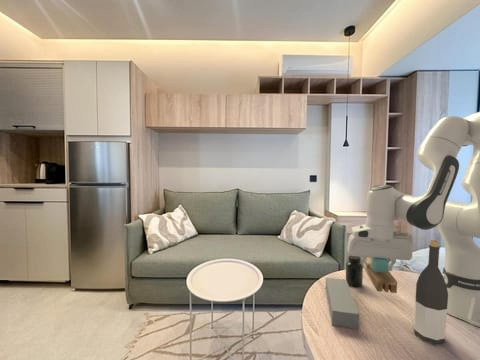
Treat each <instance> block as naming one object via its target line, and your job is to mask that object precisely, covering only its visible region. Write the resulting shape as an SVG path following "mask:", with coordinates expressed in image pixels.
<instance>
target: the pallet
mask: <svg viewBox="0 0 480 360" xmlns="http://www.w3.org/2000/svg"><path fill="white" fill-rule="evenodd" d="M370 259H371V257H367V260H365V261H366V262H367V263H369V264H370ZM362 265H363V270H364V271H365V273H366V274H367V276H368V278H369V280H370V282H371V283H372V285H373V286H374V288H375V290H376V291H377V292H383V291H384V292H385V293H389V292H390V293H391V294H397V292H398V281H397V280H396V278H395V277H394V276H393V275H392V273H391V271H388V273H383V272H375V271H374V270H373V268H372V266H371V265H370V269H365V267H364V261H363V260H362Z"/></svg>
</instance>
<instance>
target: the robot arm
mask: <svg viewBox="0 0 480 360" xmlns="http://www.w3.org/2000/svg"><path fill="white" fill-rule="evenodd" d="M467 146H473V155H472V157H471V159H470V160H469V163H468V166H467V168H466V171H465V174H464V176H463V178H462V180H461V186H462V188H463V190H464V191H465V192H466V193H468V194H469V195H471V202H470V203H465V202H459V201H450V200H448V199H449V196H450V194H451V191H452V189H453V187H454V184H455V183H456V179H457V176H458V174H459V169H460V162H459V160H458V159H457V156H458V155H459V153H460V151H461V149H462V147H467ZM416 155H417V159H418V161H419V162H420V163H421V165H423V166H425V167H426V168H427V169H429V170H431V171H433V175H432V178H431V180H430V183H429V185H428V188H427V190H426V191H425V193H424V194H423V195H421V196H418V195H417V196H416V195H411V194H406V193H403V192H401V191H399V190H398V189H395V188H394V186H393V185H391V184H377V185H373V186H372V187H370V188H369V189H368V191H367V195H366V201H365V202H366V203H365V212H366V219H365V223H363V224H359V225H355V226H352V227H351V234H350V235H349V237H348V240H347V253H348V254H349V256H350V255H351V256H359V257H360V258H361V260H362V262H363V261H364V267H365V269H370V264H369V263H367V262H366V261H365V260H367V257H370V258H384V259H387V260H390V261H389V262H388V271H389V272H392V271H393V267H394V266H395V265H396V263H397V260H398V261H410V260H412V259H413V248H412V244H413V241H414V240H413V236H412V234H409V233H408V232H399V231H395V221H399V222H401V223H404V224H407V225H408V224H409V225H410V226H413V227H415V228H418V229H420V230H423V231H426V230H427V231H428V230H431V229H434V228H436V229H437V231H438V233H439V234H440V237H441V239H442V241H443V246H444V251H445V252H444V267H443V268H442V275H443V278H444V280H445V283H446V286H447V291H448V304H447V315H450V316H452V317H453V318H457V319H460V320H463V321H465V322H467V323H469V324H471V325H473V326H475V327H479V328H480V246H478V245H477V244H476V242H475V240H474V239H473V238H477V239H480V111H478V112H473V113H471V114H470V115H467V116H465V117H464V116H463V117H460V116H456V115H448V116H444V117H443V118H440V119H439V120H438V121H437V122H436V123H435V124H434V125H433V126H432V127H431V128H430V130H429V132H428V133H427V134H426V135H425V137H424V139H423V140H422V142H421V144H420V145H419V147H418V149H417V152H416ZM365 269H364V270H365Z"/></svg>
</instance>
